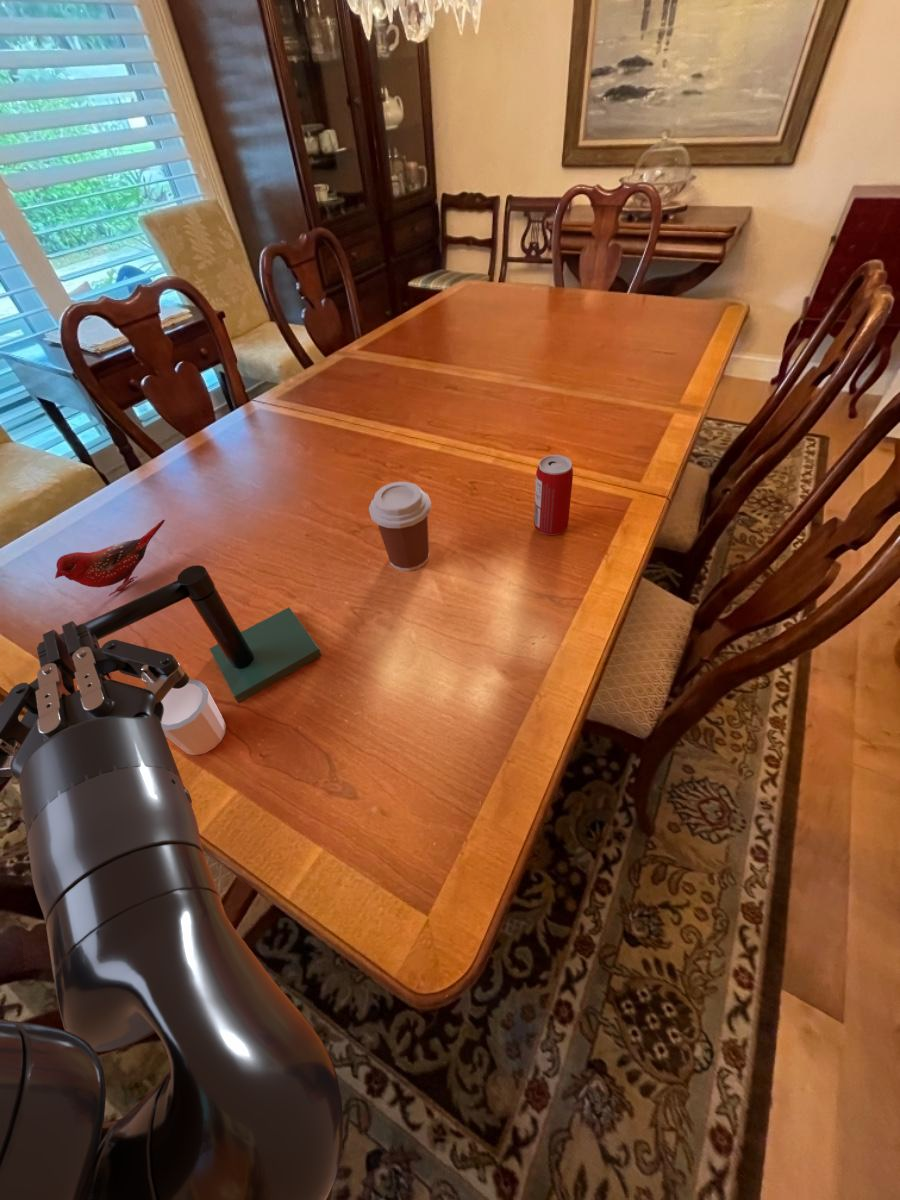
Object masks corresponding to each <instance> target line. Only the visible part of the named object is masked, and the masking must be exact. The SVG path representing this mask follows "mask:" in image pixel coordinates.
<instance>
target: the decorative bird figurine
mask: <svg viewBox="0 0 900 1200" xmlns="http://www.w3.org/2000/svg"><path fill="white" fill-rule="evenodd" d="M165 521H166V519H162V520H161V521H159V522H158V523H157V524H156V525H155V526H153V528H151V529H150V530H149V531H147V533H145V534H144V535H143V536H141V537H140V538H138V539H132V540H127V541H122V542H119V543H115V544H113V545H110V546H107V547H105V548H102V549H98V550H95V551H91V552H81V551H77V552H70V553H67V554H63V555H61V556H60V557H59V558H58V559H57V560H56V566H55V567H56V573H55V576H54V579H55V580H56V579H58V578H61V577H65V578H66V579H68V580H69V581H74V582H76V583H77V584H79V585H82V586H85V587H90V588H104V587H110V586H113V585H115V584H118V583H120V582H121V583H122V584H120V585H118V587H116V589H115V591H113V592H111V593H109V594H108V597H110V596H112V595H114V594H116V593H117V592H121V591H123V590H125V588H126V587H127V586H129V585H130V584H132V583H133V582H134V581H135V579H136V578H139V576H138V575H136V576H132V575H133V573H134V571H136V570H135V569H137V567H138V565H139V564H140V563H141V561H142V560H143V558H144V557H145V554H146V551H147V548H148V545H149V543H150V541H151V539H152V538H154V536H155V535H156V534H157V532H158V531H159V530H160V529H161V527H162V526H163V524H164V523H165ZM131 576H132V577H131ZM122 581H123V582H122Z"/></svg>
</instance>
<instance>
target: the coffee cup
mask: <svg viewBox="0 0 900 1200" xmlns="http://www.w3.org/2000/svg"><path fill="white" fill-rule="evenodd" d="M368 506H369V507H368V512H369V515H370V519H371V520H372V521H373V522H374V523H375V524H376V525H377V527H378V529H379V532H380V536H381V539H382V542H383V545H384V548H385V551H386V554H387V557H388V560H389V563H390V566H392V567H393V568H394V569H395V570H399V571H401V572H413V571H416V570H419V569H420V568H422V567H424V566H425V565H426V564H427V563H428V561H429V558H430V543H429V541H430V540H429V518H428V516H429V514H430V512H431V509H432V501H431V498H430V497H429V494H428V493H426V492H425V491H423V490H422V489H421V487H420V486H418V484H416V483H413V482H409V481H394V482H390V483H387V484H385V485H383V486H381V487H380V488H379V489H378V490H377V491H376V492H375V493H374V497H373V499H372V500H371V502H370V503H369V505H368Z"/></svg>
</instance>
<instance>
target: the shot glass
mask: <svg viewBox="0 0 900 1200" xmlns="http://www.w3.org/2000/svg"><path fill="white" fill-rule="evenodd" d="M161 702H162V704H163V707H164V713H163V717H162V721H161V726H162V729H163V731H164V734H165V737H166V739H167V740H169V741H170V742H171V743H173V744H174V745H175V746H177V747H178V748H179V749H180V750H181V751H183V752H184V753H185V754H186V755H191V756H199V755H203V754H206V753H208V752H210V751H211V750H212V751H213V749H215V748H216V747H217V746H218V745H219V744H220V743H221V742H222V741H223V738H224V737H225V734H226V731H227V724H226V721H225V719H224V717H223V715H222V713H221V712H220V710H219V708H218V705H217V704H216V702H215V700H214V697H212V695H211V693H210V691H209V689H208V686H206V684H205V683H204V682H202V681H200V680H199V679H193V678H189V682H188V683H187V684H186V685H185V686H184V687H182V688H179V689H175V688H171V690H170V691H169V692H168V693H167V695H166V696H165V697H164V698H163V700H162V701H161Z"/></svg>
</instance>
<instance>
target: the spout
mask: <svg viewBox="0 0 900 1200" xmlns="http://www.w3.org/2000/svg"><path fill="white" fill-rule="evenodd" d="M214 587H215V588H216V586H215V582H214V580H213V579H212V577H211V576H210V574H209V572H208V570H207V569H206V567H205V566H203V565H201V564H200V565H199V564H197V565H196V564H195V565H190V566H188V567H186V568H184V569H182V570H181V571H180V572H179V574H178V575H177V579H176V580H175V581H172V582H170V583H168V584H165V585H163V586H161V587H159V588H156V589H154V590H153V591H151V592H149V593H146V594H143V595H142V596H140V597H138V598H135V599H134V600H131V601H129V602H127V603H125V604H123V605H120V606H118V607H115V608H114V609H111V610H110V611H107V612H104V613H103V614H101V615H99V616H96V617H94V618H92V619H90V620H88V621H86V622H83V623H82V624H84V625H85V626H87V628H88V629H89V630H90V631H91V632H92V633H93V634H94V635H95V637H96V638H97V640H98V641H99V640H101V639H103V638H106V637H107V636H110V635H111V634H114V633H116V632H118V631H120V630H122V629H124V628H126V627H129V626H131V625H133V624H135V623H137V622H139V621H141V620H143V619H145V618H147V617H150V616H151V615H154V614H156V613H158V612H160V611H162V610H165V609H166V608H168V607H170V606H172V605H175V604H177V603H179V602H181V601H183V600H185V599H187V598H188V599H189V600H190V599H194V600H197V599H202V598H204V597H206V596H208V595H209V594H210V593H211V592H212V591H213V590H214ZM58 634H59V633H58ZM59 635H60V636H61V637H62V638H63V639H64V640H65V637H64V633H63V632H62V633H60V634H59Z"/></svg>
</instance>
